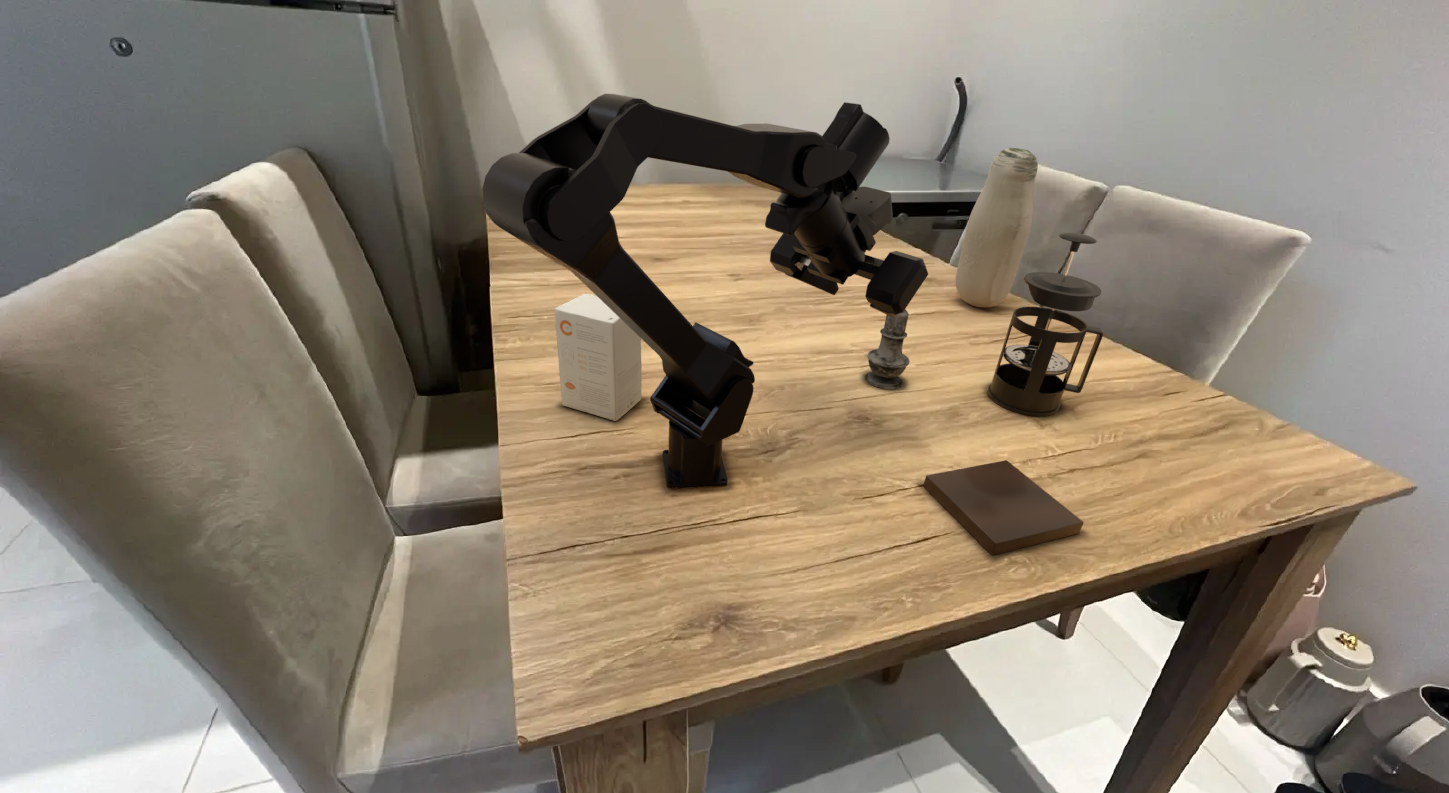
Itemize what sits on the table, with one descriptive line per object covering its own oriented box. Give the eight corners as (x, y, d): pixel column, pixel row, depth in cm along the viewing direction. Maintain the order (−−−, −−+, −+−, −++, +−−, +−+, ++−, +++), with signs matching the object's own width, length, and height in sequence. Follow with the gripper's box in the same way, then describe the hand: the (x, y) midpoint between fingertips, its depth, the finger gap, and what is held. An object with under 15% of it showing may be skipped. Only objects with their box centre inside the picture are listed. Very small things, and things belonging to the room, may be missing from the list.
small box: (642, 400, 81) (642, 305, 74) (615, 423, 76) (613, 323, 69) (589, 384, 83) (584, 291, 77) (560, 405, 78) (552, 308, 72)
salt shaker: (905, 392, 87) (924, 312, 81) (862, 386, 88) (878, 306, 82) (903, 374, 92) (921, 296, 86) (863, 368, 93) (877, 291, 87)
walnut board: (1079, 533, 63) (1084, 522, 62) (991, 555, 60) (996, 543, 59) (1003, 470, 72) (1006, 459, 71) (922, 486, 68) (925, 475, 68)
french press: (981, 405, 85) (1033, 237, 74) (982, 376, 93) (1029, 220, 82) (1075, 426, 82) (1145, 253, 70) (1069, 394, 90) (1130, 234, 78)
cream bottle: (1016, 311, 118) (1065, 153, 104) (973, 316, 114) (1018, 153, 101) (980, 293, 126) (1021, 144, 112) (938, 297, 122) (975, 144, 108)
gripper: (940, 181, 61) (967, 271, 73) (797, 151, 73) (840, 233, 85) (878, 272, 60) (916, 349, 72) (743, 227, 72) (795, 300, 84)
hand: (864, 302), depth 78 cm, fingers open, 9 cm apart
